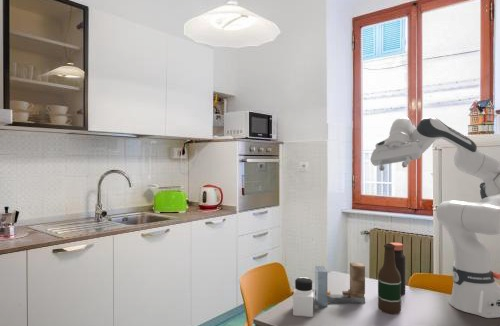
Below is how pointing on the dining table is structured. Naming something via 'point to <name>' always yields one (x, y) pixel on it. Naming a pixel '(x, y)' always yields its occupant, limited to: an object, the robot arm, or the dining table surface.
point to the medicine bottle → (303, 298)
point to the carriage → (356, 281)
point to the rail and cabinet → (321, 290)
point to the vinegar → (400, 264)
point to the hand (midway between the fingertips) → (392, 168)
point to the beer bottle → (389, 283)
